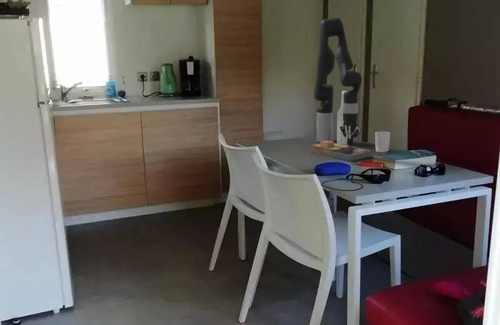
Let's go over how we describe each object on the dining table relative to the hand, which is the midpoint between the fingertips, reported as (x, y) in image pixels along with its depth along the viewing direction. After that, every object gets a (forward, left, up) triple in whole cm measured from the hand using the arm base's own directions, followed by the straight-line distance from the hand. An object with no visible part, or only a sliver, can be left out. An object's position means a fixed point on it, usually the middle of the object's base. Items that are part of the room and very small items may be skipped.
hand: (349, 145), depth 265 cm
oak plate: (+3, -10, -5) cm, 12 cm away
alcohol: (-21, -22, -5) cm, 31 cm away
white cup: (-19, +6, -5) cm, 21 cm away
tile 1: (+6, -10, -1) cm, 12 cm away
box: (+3, +4, -5) cm, 7 cm away
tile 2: (-1, +5, -2) cm, 6 cm away
